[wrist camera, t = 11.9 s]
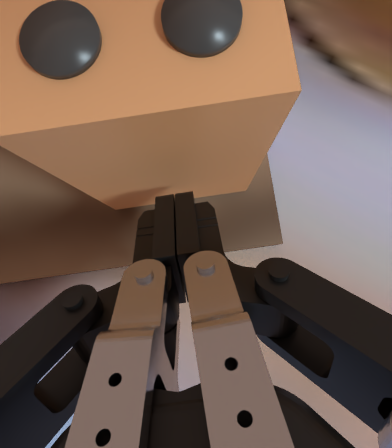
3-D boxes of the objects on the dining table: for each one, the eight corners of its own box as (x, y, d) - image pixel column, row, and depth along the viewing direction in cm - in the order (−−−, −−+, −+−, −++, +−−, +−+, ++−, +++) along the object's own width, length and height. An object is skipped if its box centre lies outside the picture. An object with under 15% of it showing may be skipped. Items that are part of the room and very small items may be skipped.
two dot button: (246, 190, 16) (304, 84, 6) (115, 209, 16) (-21, 134, 7) (234, 119, 16) (272, -79, 7) (107, 138, 17) (-30, -29, 7)
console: (278, 244, 17) (317, 235, 11) (-173, 308, 17) (-370, 333, 11) (229, -39, 19) (238, -174, 13) (-170, 25, 20) (-333, -77, 14)
